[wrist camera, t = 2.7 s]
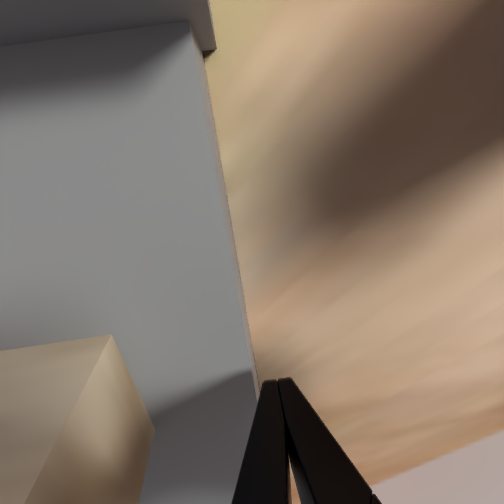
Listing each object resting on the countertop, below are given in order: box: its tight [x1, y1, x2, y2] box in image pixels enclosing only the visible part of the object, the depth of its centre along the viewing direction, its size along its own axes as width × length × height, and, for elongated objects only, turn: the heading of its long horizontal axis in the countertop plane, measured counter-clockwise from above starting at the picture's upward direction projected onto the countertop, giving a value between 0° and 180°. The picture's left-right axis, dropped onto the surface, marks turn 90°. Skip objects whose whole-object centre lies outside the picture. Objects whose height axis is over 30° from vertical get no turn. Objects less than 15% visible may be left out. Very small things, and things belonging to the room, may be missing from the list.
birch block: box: [0, 334, 155, 504], centre depth 7 cm, size 4×4×4 cm
